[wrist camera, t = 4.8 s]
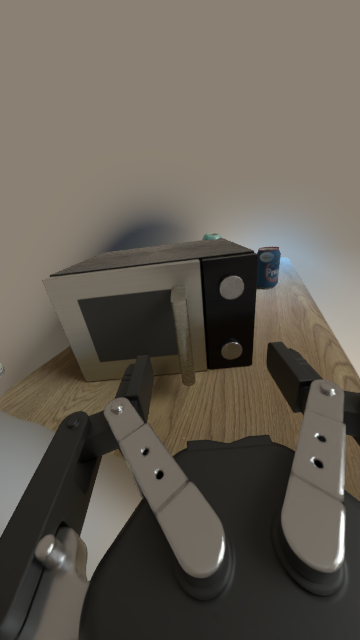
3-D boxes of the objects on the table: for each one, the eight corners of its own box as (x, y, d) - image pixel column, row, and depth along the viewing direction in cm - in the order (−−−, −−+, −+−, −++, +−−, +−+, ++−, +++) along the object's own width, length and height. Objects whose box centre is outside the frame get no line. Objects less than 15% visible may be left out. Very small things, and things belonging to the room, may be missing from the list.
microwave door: (212, 399, 27) (205, 272, 20) (68, 411, 28) (6, 295, 20) (206, 364, 34) (198, 259, 26) (89, 375, 35) (48, 276, 27)
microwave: (253, 369, 32) (261, 253, 24) (84, 385, 33) (38, 280, 25) (223, 309, 54) (221, 237, 46) (122, 320, 55) (103, 252, 47)
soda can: (269, 290, 62) (273, 250, 56) (250, 287, 67) (251, 249, 62) (281, 284, 65) (285, 246, 60) (262, 281, 70) (264, 246, 65)
